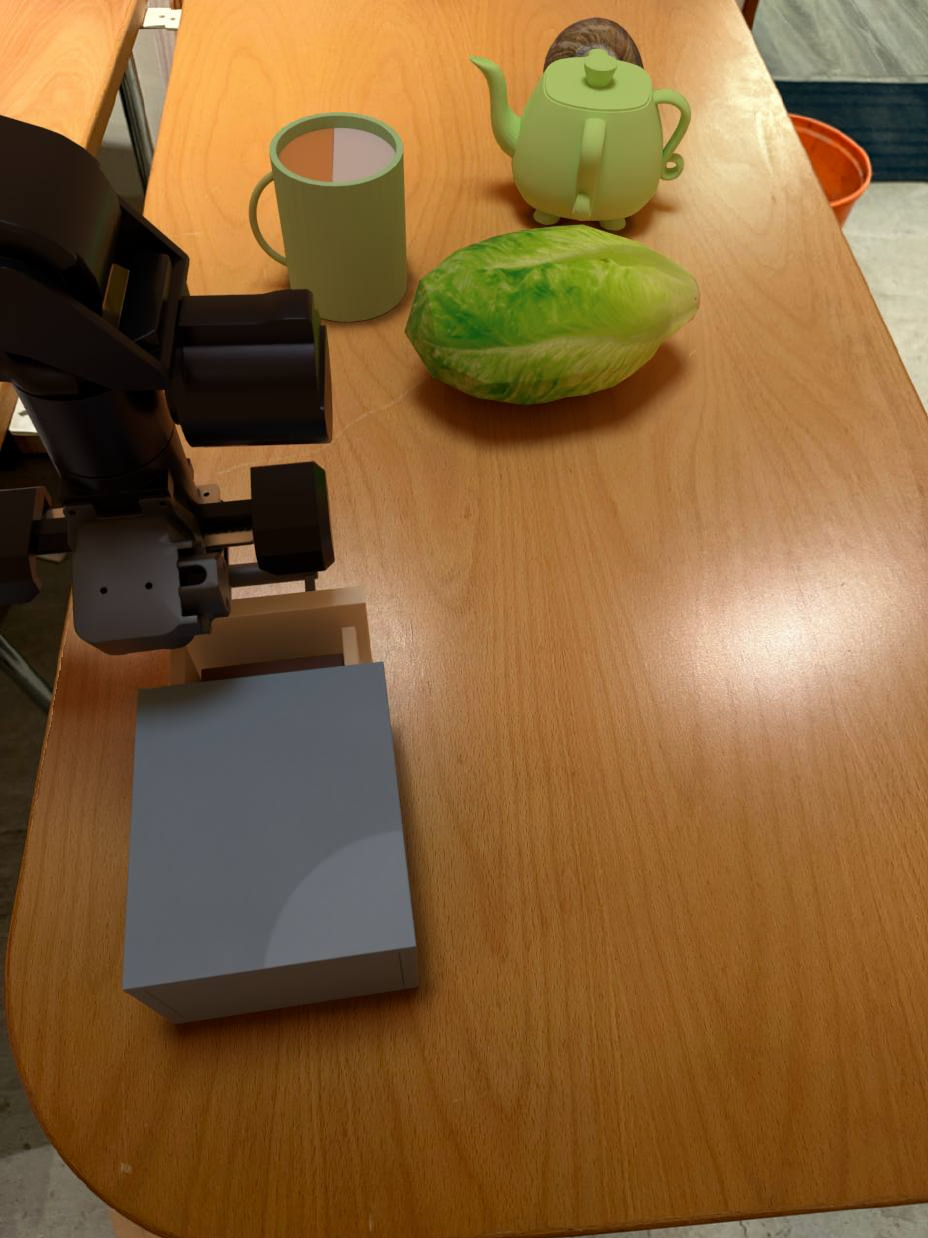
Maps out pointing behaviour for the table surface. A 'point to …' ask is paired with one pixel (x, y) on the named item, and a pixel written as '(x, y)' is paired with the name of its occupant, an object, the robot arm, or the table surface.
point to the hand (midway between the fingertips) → (188, 616)
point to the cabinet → (266, 846)
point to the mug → (340, 212)
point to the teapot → (587, 138)
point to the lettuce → (547, 313)
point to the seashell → (594, 42)
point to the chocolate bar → (272, 667)
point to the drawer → (278, 626)
